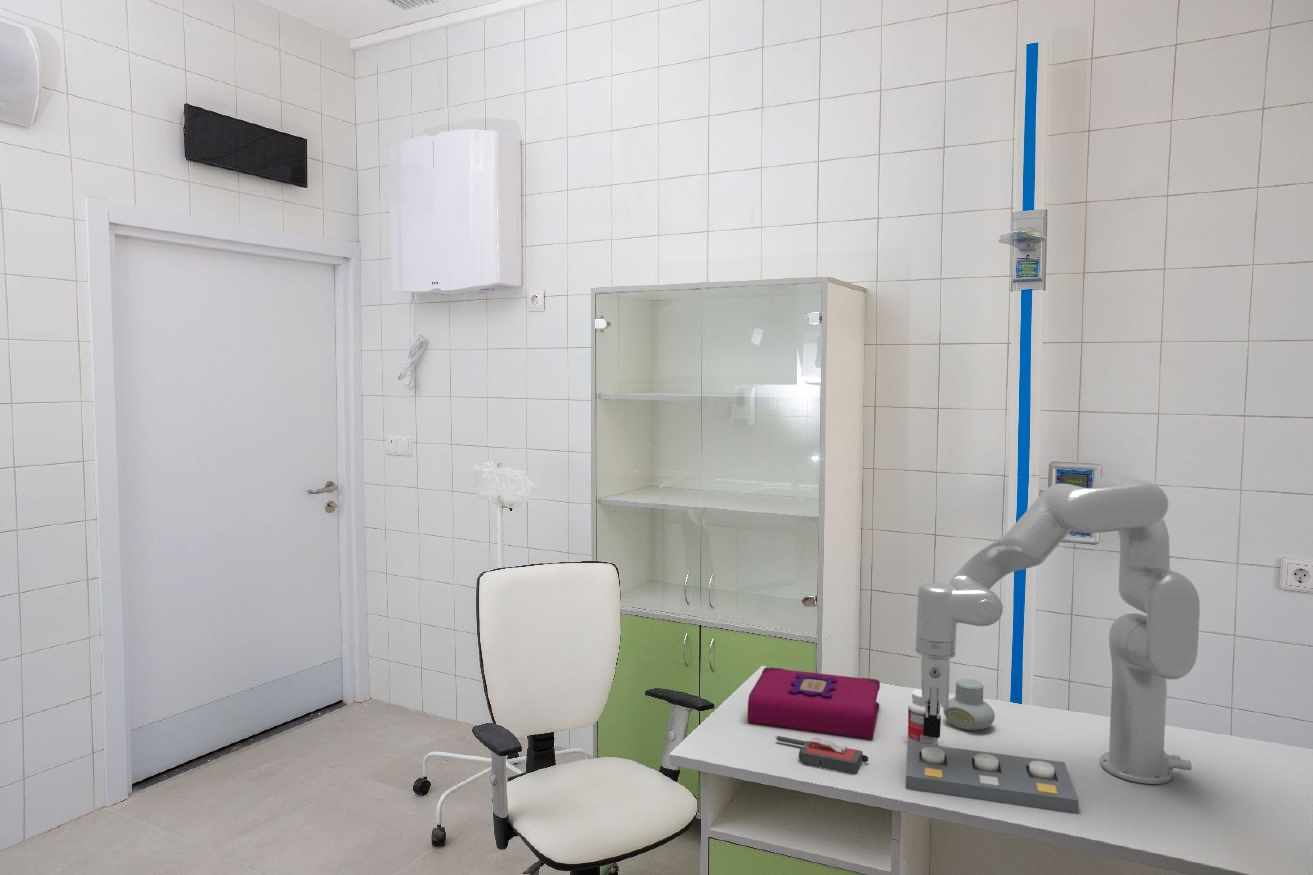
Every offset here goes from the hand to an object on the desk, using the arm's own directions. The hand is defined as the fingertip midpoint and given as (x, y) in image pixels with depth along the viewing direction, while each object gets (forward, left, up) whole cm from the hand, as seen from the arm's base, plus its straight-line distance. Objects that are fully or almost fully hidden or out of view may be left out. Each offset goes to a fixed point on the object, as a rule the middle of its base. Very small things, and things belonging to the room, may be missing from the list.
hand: (931, 735), depth 167 cm
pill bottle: (+2, -13, -8) cm, 15 cm away
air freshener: (-8, -26, -8) cm, 28 cm away
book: (+26, -21, -8) cm, 34 cm away
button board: (-10, +1, -7) cm, 13 cm away
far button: (0, 0, -5) cm, 5 cm away
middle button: (-10, 0, -5) cm, 12 cm away
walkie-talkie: (+22, +1, -8) cm, 24 cm away
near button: (-20, 0, -5) cm, 21 cm away
